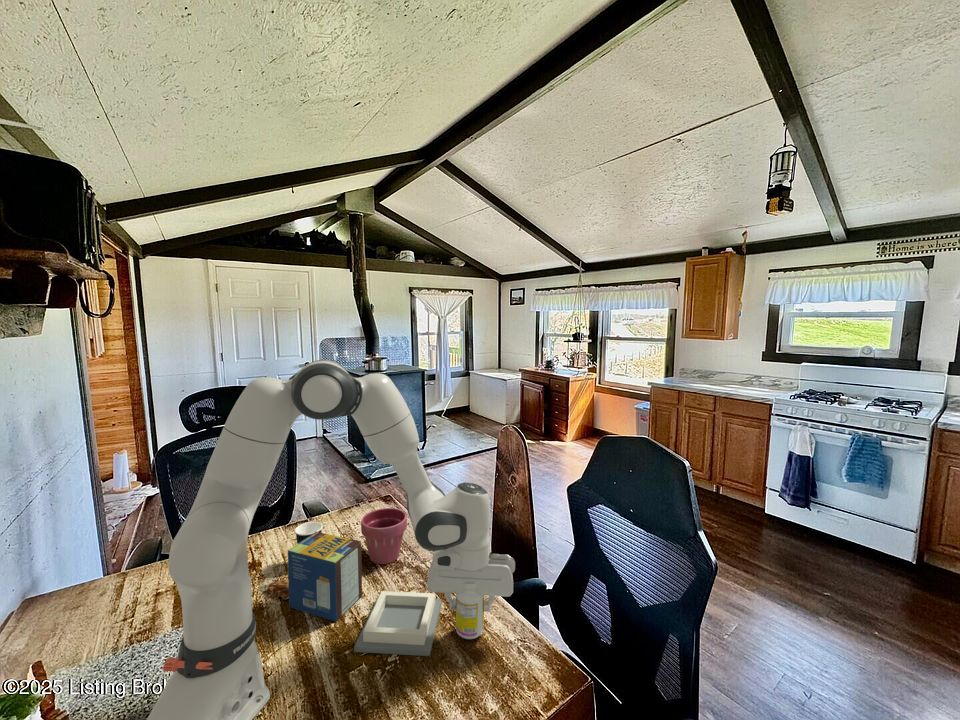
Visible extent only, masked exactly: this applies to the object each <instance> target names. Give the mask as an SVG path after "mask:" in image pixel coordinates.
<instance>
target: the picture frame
mask: <svg viewBox="0 0 960 720" xmlns="http://www.w3.org/2000/svg"><path fill="white" fill-rule="evenodd" d="M442 601H443V599H442V598H436V593H435V592H413V591H411V592H410V591H408V592H407V591H391V590H389V591H387V590H381V592H380V594H379V595H378V596H377V598H376V600H375V601H374V604H373V607H372V608H371V610H370V612H369V614H368V616H367V619H366V620H365V623H364V625H363V627H362V630H361V631H360V634H359V636H358V638H357V640H356V642H355V645H354V647H353V651H354V653H355V652H356V653H369V654H385V655H404V656H420V657H421V656H422V657H430V656H431V654H432V647H433V643H434V639H435V635H436V631H437V630H436V629H437V626H438V622H439V617H440V613H441V608H442V605H443V604H442Z"/></svg>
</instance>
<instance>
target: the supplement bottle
mask: <svg viewBox="0 0 960 720" xmlns="http://www.w3.org/2000/svg"><path fill="white" fill-rule="evenodd" d="M463 588H464V589H465V592H464V593H460V594H455V599H456V610H455V631H456V633H457V635H458V636H459V637H460V638H463V639H465V640H473V639H476V638H478V637H480V636H481V635H482V633H483V632H484V623H485V621H484V620H485V618H484V615H485V614H484V613H485V612H484V600H485V595H479V594H477V593H475V588H476V583H463Z"/></svg>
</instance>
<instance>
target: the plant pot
mask: <svg viewBox="0 0 960 720" xmlns="http://www.w3.org/2000/svg"><path fill="white" fill-rule="evenodd" d="M407 520H408V517H407V514H406V512H405V511H404V510H402V509H399V508H394V507H384V508H379V509H375V510H372V511H370V512H368V513H365V515H363V517H362V518H361V520H360V521H361V522H360V528H361V529H360V531H361V535H362V536H363V537H364V541H365V543H366V548H367V553H368V555H369V560H370V561H371V562H372V563H374V564H377V565H379V564H380V565H386V564H390V563H392V562H395V561H396V560H398V558H399V556H400V553H401V548H402V543H403V538H404V533H405V531H406V530H407V528H408V521H407Z"/></svg>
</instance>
